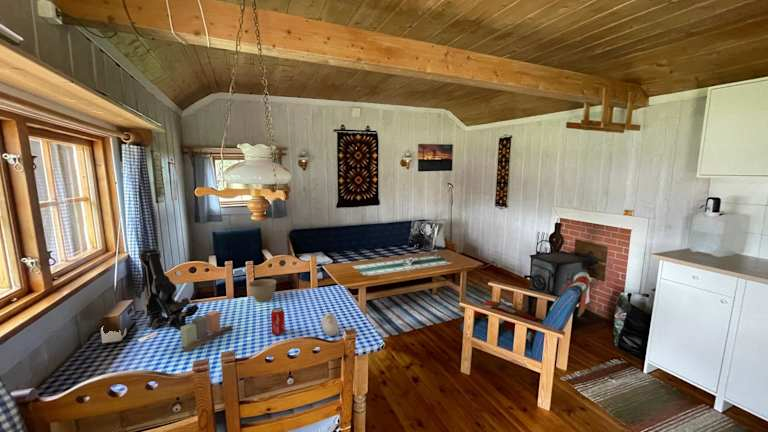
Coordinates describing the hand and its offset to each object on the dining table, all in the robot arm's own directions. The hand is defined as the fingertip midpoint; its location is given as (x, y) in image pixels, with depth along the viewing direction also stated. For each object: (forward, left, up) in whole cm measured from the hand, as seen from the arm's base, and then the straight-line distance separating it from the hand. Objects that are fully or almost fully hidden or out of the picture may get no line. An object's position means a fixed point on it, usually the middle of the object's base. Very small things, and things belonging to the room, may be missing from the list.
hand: (185, 331), depth 143 cm
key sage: (+2, +1, -6) cm, 6 cm away
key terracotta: (-7, +12, -6) cm, 15 cm away
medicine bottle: (-26, -28, -7) cm, 39 cm away
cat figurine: (+24, +60, -7) cm, 65 cm away
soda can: (+11, +38, -7) cm, 40 cm away
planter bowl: (-38, +43, -7) cm, 58 cm away
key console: (-3, +7, -7) cm, 10 cm away
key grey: (-4, +6, -6) cm, 9 cm away
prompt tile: (-14, -13, -7) cm, 20 cm away
